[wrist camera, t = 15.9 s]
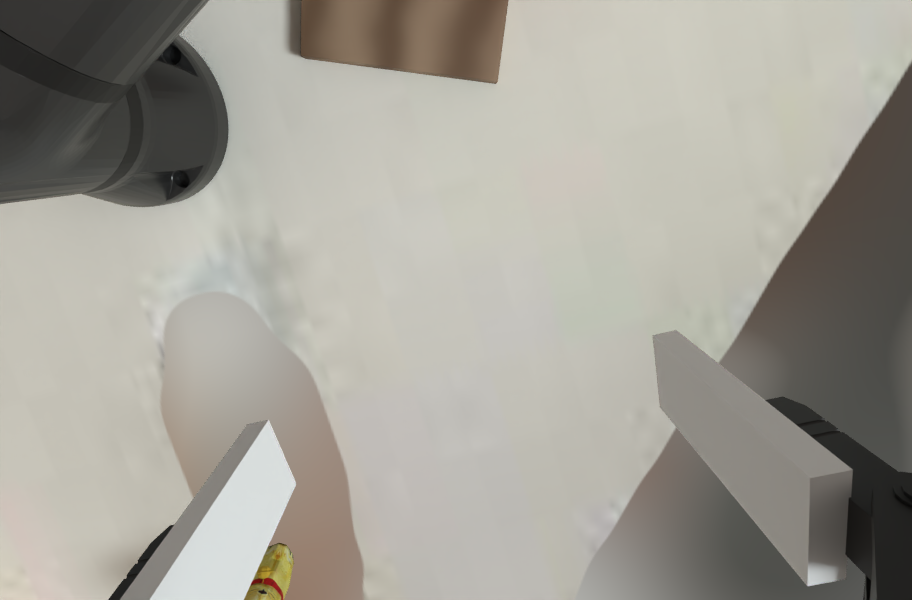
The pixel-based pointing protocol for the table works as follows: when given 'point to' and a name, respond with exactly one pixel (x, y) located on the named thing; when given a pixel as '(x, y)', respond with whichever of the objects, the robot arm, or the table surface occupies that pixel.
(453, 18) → the walnut board
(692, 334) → the table surface
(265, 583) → the chocolate bunny
